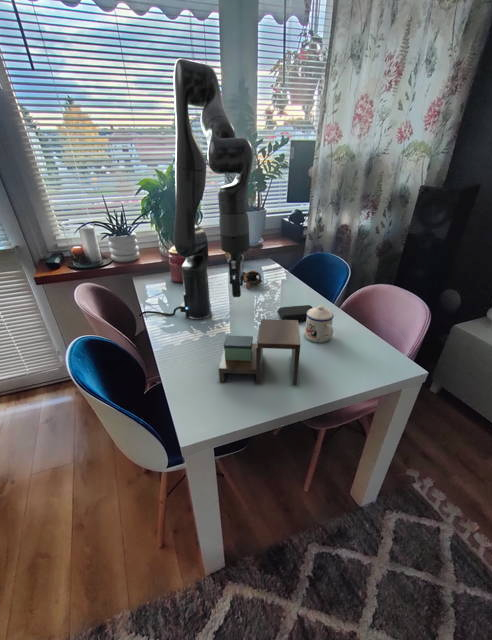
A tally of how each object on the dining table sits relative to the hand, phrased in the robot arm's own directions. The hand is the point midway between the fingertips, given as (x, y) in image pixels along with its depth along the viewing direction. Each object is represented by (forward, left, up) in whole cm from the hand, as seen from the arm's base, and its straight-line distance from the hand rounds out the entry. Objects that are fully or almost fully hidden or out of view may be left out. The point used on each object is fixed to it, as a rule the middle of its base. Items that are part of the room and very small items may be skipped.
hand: (238, 290), depth 93 cm
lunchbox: (+1, -8, -17) cm, 19 cm away
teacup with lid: (+27, +12, -22) cm, 37 cm away
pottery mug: (-1, +61, -22) cm, 65 cm away
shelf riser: (+7, -8, -22) cm, 24 cm away
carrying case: (+20, +28, -22) cm, 41 cm away
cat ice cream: (-15, +94, -11) cm, 96 cm away
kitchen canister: (-36, +69, -22) cm, 81 cm away
